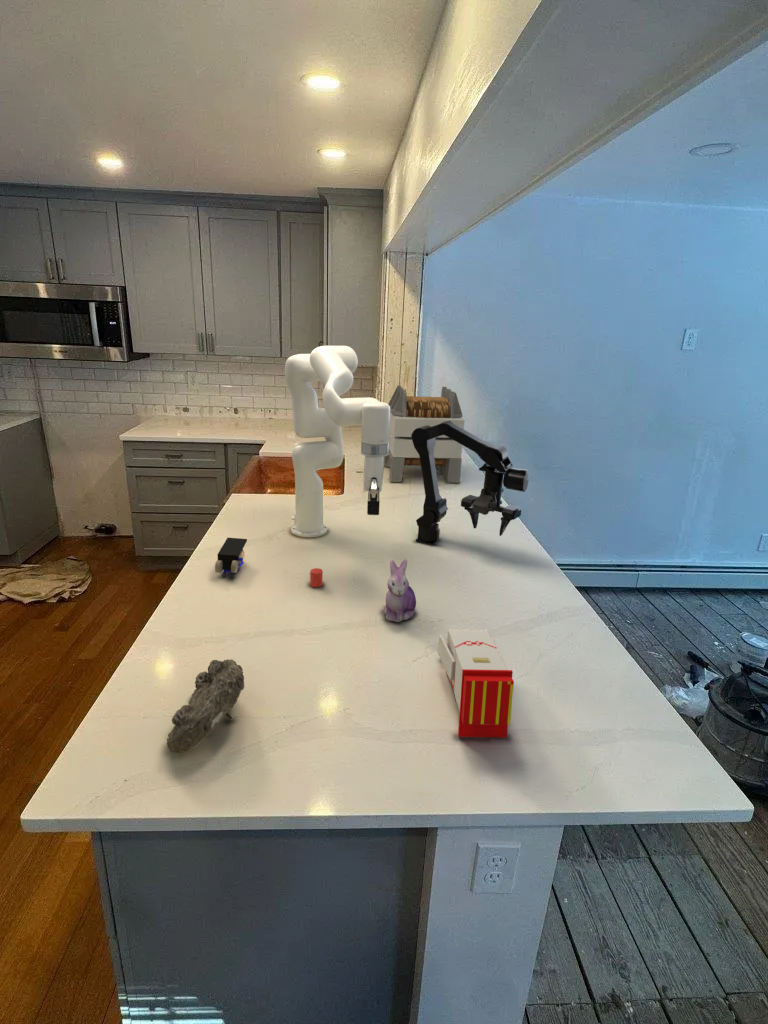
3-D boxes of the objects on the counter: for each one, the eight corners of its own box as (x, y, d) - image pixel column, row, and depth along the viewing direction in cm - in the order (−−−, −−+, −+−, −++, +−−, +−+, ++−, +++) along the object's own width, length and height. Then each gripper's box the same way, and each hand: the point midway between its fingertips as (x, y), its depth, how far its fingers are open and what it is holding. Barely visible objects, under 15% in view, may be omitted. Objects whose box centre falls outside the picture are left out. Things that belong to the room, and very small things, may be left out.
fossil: (192, 660, 117) (244, 628, 112) (224, 691, 120) (276, 661, 115) (142, 746, 98) (202, 712, 93) (182, 779, 101) (242, 748, 96)
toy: (488, 613, 130) (523, 677, 101) (484, 667, 133) (517, 744, 104) (435, 612, 130) (455, 676, 101) (432, 666, 133) (451, 743, 103)
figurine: (392, 627, 141) (395, 572, 136) (374, 608, 149) (376, 556, 144) (425, 619, 145) (429, 566, 140) (405, 601, 154) (408, 550, 149)
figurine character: (238, 584, 162) (249, 557, 175) (236, 562, 158) (247, 536, 172) (215, 584, 161) (227, 556, 175) (212, 561, 158) (225, 535, 171)
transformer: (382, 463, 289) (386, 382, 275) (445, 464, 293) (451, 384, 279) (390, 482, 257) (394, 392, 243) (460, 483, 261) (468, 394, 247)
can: (320, 588, 159) (320, 574, 158) (308, 586, 160) (308, 572, 158) (324, 582, 162) (324, 569, 161) (312, 581, 163) (312, 567, 162)
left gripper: (362, 441, 161) (360, 499, 166) (360, 455, 144) (358, 519, 150) (388, 442, 161) (386, 499, 166) (389, 456, 144) (387, 519, 150)
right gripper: (454, 484, 177) (450, 531, 182) (509, 498, 167) (503, 547, 172) (471, 477, 185) (467, 522, 191) (524, 490, 175) (518, 536, 180)
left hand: (373, 508), depth 158 cm, fingers open, 9 cm apart
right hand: (487, 531), depth 183 cm, fingers open, 9 cm apart
